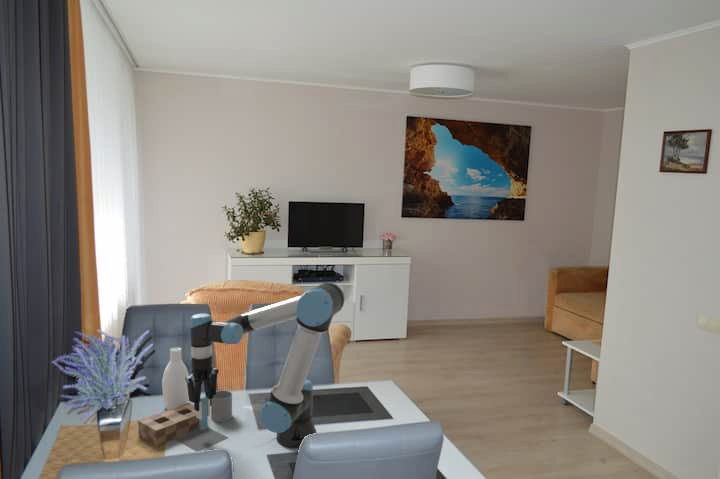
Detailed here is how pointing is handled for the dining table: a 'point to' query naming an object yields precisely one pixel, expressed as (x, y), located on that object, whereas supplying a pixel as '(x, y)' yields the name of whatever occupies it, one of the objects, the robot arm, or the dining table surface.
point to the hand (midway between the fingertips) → (203, 416)
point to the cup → (221, 406)
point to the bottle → (175, 381)
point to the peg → (203, 414)
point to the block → (169, 424)
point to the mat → (201, 439)
